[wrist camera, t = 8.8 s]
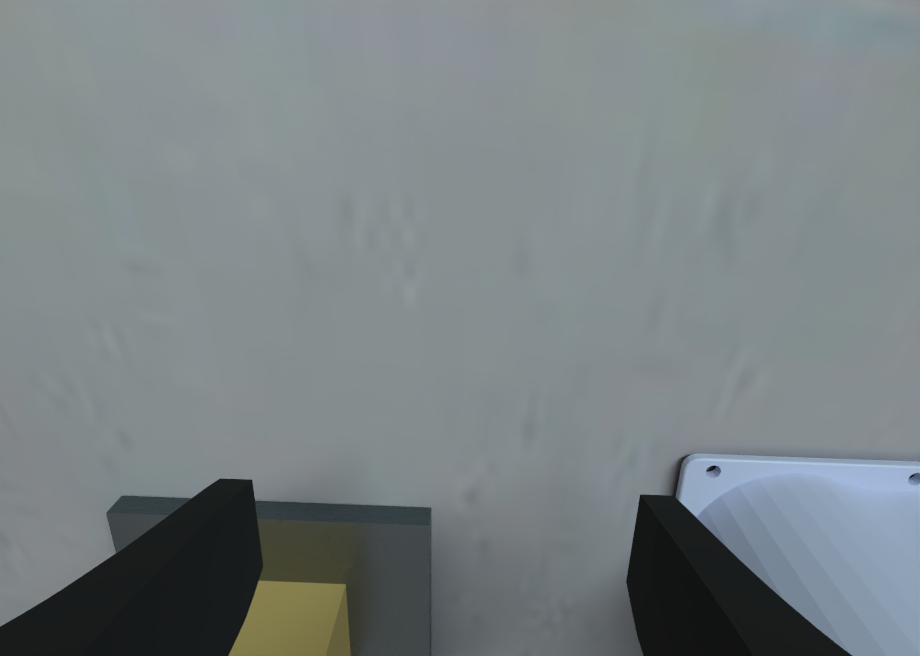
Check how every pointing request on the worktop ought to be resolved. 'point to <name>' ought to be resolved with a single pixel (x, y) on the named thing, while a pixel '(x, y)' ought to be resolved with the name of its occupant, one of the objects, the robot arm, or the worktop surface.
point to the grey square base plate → (333, 561)
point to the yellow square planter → (295, 621)
